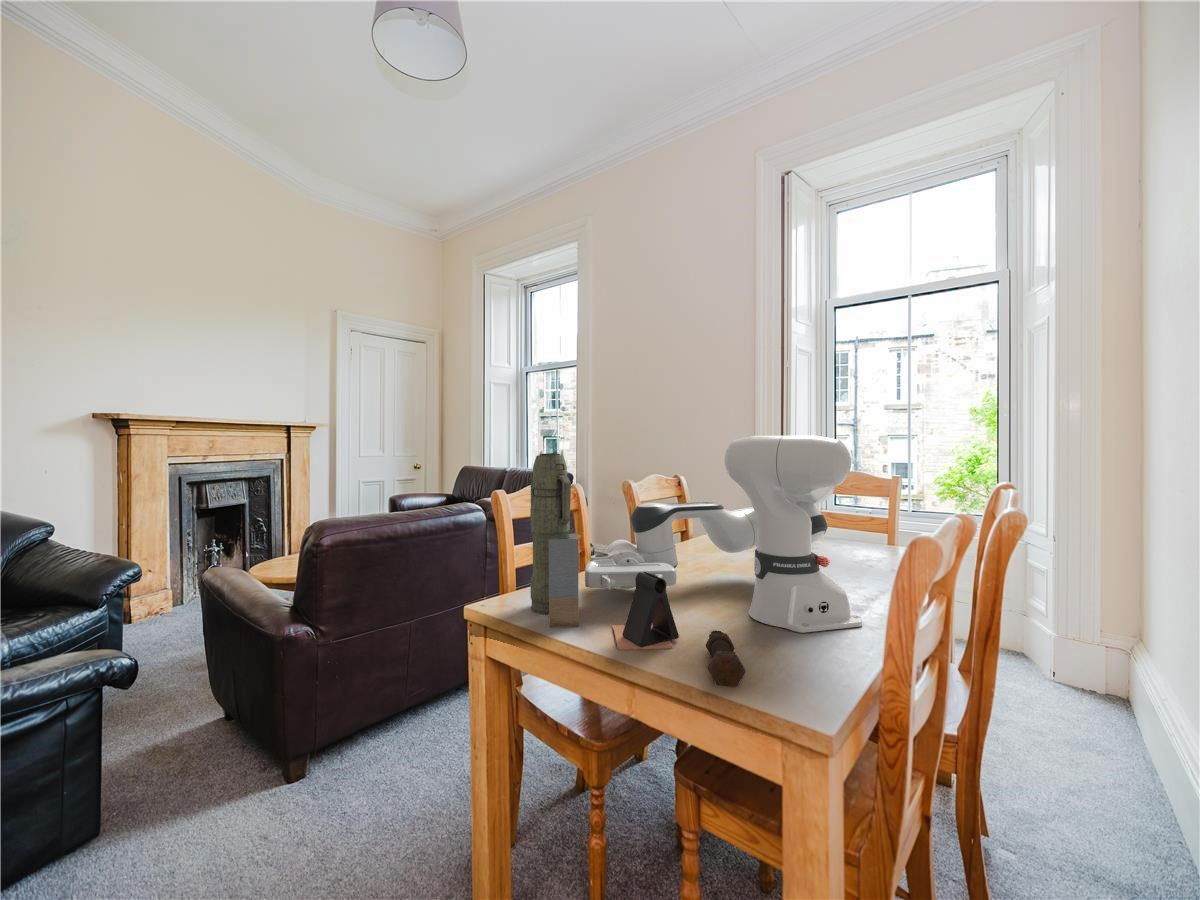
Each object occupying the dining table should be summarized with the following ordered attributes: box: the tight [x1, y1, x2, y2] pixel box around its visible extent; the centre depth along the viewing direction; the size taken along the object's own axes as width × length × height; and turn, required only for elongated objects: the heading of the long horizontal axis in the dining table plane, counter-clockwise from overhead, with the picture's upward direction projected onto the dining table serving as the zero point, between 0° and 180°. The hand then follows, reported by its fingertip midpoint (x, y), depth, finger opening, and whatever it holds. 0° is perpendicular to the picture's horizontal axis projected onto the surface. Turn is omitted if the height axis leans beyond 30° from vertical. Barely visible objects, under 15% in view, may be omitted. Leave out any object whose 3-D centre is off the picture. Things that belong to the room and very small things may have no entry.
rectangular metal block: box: [548, 533, 581, 628], centre depth 109 cm, size 6×6×18 cm
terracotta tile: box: [612, 624, 673, 651], centre depth 101 cm, size 10×11×1 cm
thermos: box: [529, 453, 572, 616], centre depth 117 cm, size 9×12×35 cm
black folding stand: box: [622, 572, 680, 647], centre depth 99 cm, size 9×6×12 cm, turn 119°
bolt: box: [705, 630, 746, 688], centre depth 89 cm, size 6×5×15 cm
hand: (634, 585), depth 109 cm, fingers open, 8 cm apart
